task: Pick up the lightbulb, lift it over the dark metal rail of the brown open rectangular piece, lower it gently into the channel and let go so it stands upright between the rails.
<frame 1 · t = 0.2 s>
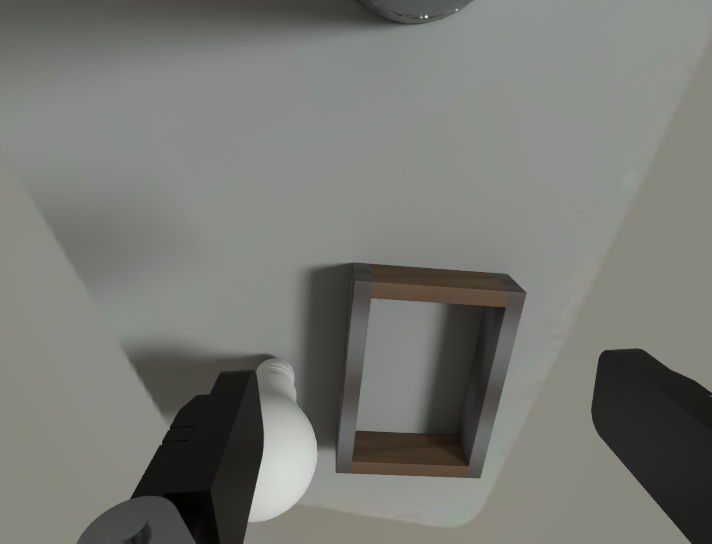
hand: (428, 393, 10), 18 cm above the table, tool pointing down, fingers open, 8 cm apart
brown open rectangular piece: (415, 363, 31), on the table
lightbulb: (277, 366, 30), on the table
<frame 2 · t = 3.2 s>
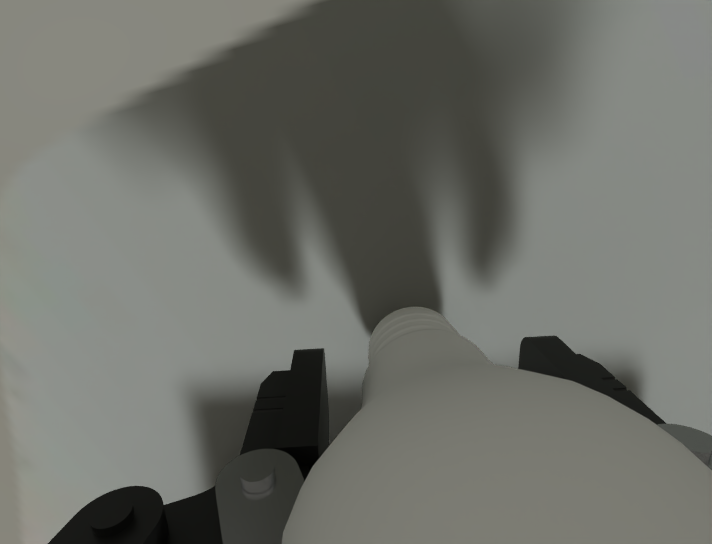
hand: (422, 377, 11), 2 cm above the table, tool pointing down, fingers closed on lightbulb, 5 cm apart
lightbulb: (407, 331, 13), on the table, touching gripper
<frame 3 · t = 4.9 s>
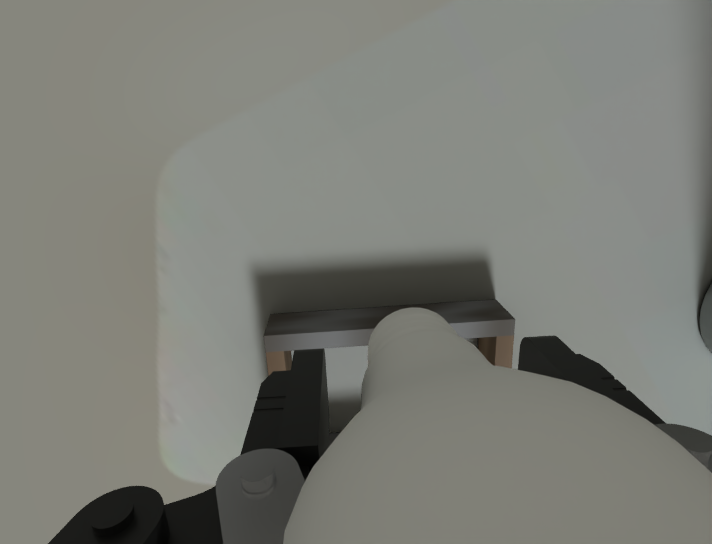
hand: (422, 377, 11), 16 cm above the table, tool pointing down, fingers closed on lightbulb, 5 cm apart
brown open rectangular piece: (386, 377, 29), on the table
lightbulb: (406, 332, 14), point 13 cm above the table, touching gripper
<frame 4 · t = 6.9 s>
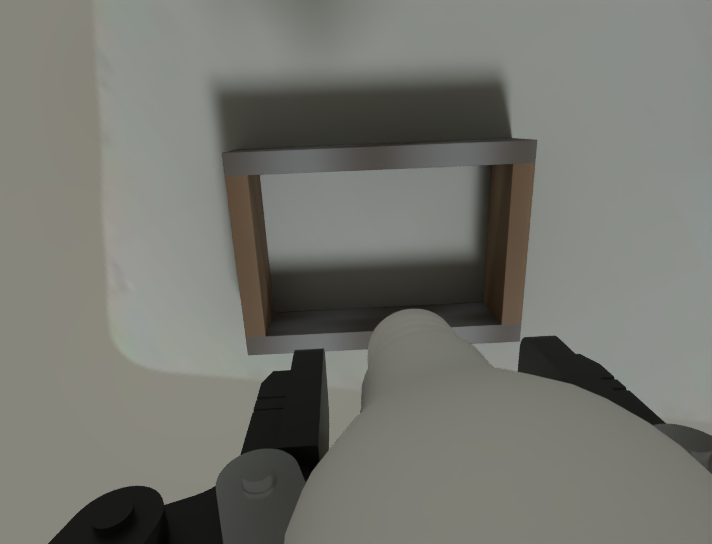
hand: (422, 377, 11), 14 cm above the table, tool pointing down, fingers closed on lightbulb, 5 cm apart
brown open rectangular piece: (377, 239, 24), on the table
lightbulb: (406, 333, 13), point 11 cm above the table, touching gripper
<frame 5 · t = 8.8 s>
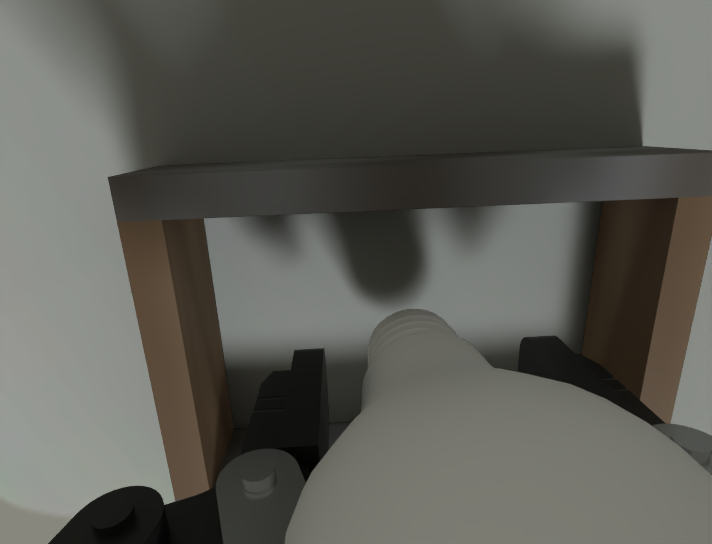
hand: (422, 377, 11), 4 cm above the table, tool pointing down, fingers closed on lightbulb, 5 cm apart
brown open rectangular piece: (405, 315, 14), on the table
lightbulb: (406, 333, 14), point 1 cm above the table, touching gripper
when the fingers open (3 cm above the table, at t = 10.4 s): lightbulb stays where it is, resting in brown open rectangular piece.
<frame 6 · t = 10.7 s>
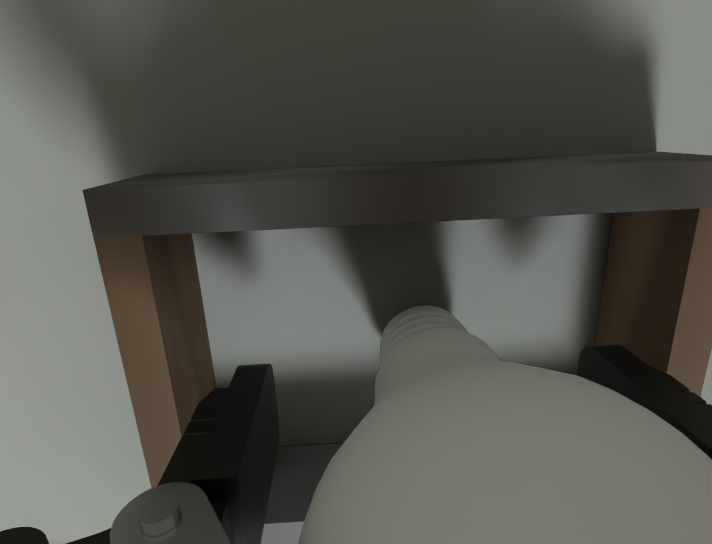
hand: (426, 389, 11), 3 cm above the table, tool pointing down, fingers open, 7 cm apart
brown open rectangular piece: (405, 330, 14), on the table
lightbulb: (416, 330, 14), resting in brown open rectangular piece
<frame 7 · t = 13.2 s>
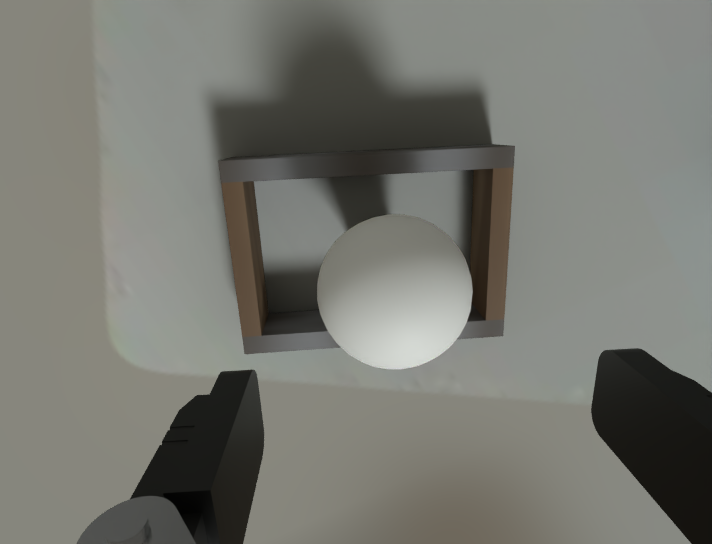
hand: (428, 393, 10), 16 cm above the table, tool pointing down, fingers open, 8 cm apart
brown open rectangular piece: (367, 241, 25), on the table
lightbulb: (373, 242, 25), resting in brown open rectangular piece
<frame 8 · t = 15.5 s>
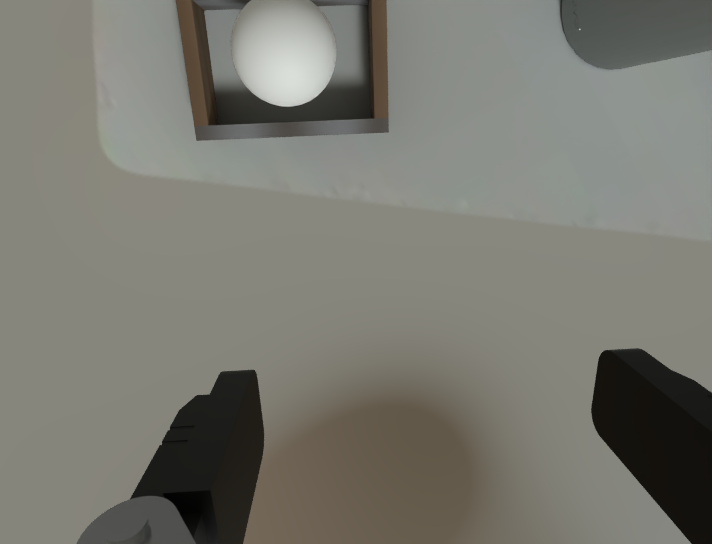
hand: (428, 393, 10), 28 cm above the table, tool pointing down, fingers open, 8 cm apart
brown open rectangular piece: (291, 66, 34), on the table
lightbulb: (296, 68, 34), resting in brown open rectangular piece
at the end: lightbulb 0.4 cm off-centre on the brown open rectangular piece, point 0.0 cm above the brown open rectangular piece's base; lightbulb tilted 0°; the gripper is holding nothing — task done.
